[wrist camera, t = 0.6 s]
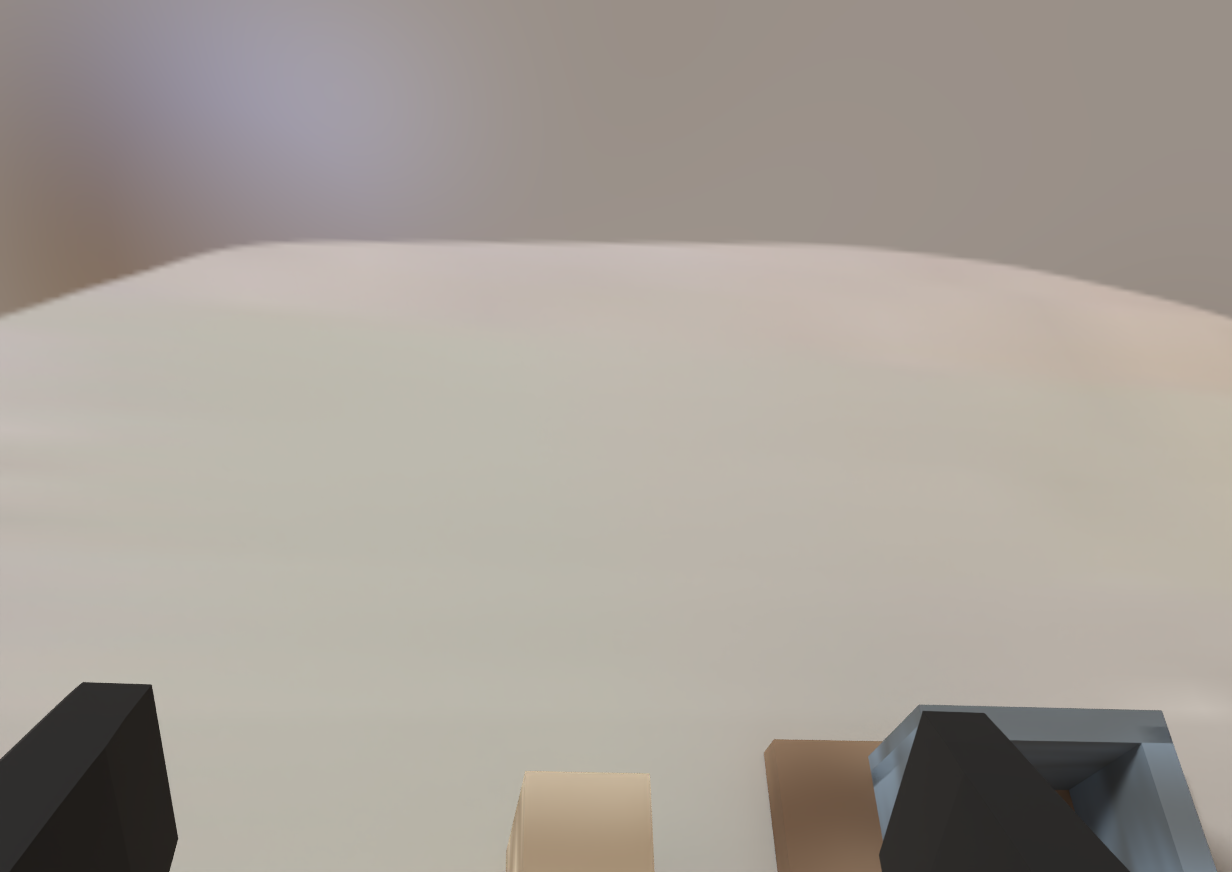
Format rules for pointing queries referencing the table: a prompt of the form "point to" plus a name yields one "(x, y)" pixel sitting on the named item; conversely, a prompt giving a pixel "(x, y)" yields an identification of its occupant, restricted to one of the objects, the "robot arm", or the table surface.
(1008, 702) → the table surface
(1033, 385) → the table surface
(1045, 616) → the table surface
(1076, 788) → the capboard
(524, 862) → the slat
